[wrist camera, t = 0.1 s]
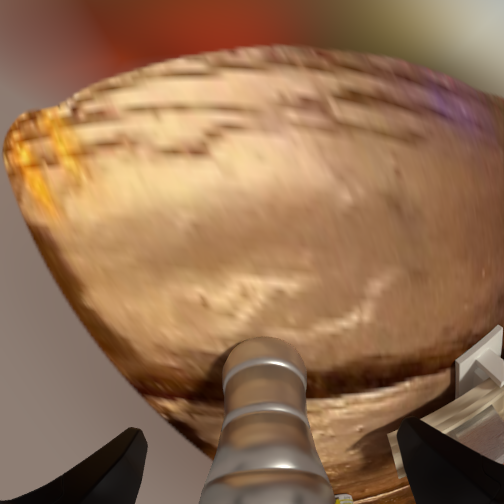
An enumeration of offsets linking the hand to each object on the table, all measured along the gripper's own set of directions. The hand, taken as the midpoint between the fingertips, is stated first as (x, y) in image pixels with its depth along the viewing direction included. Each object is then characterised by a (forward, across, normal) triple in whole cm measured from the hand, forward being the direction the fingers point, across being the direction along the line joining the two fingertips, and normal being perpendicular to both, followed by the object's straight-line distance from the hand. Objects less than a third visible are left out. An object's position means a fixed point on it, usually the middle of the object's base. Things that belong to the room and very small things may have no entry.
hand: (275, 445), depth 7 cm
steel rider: (+9, -24, +17) cm, 31 cm away
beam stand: (+15, -29, +15) cm, 36 cm away
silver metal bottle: (+15, 0, +6) cm, 16 cm away
